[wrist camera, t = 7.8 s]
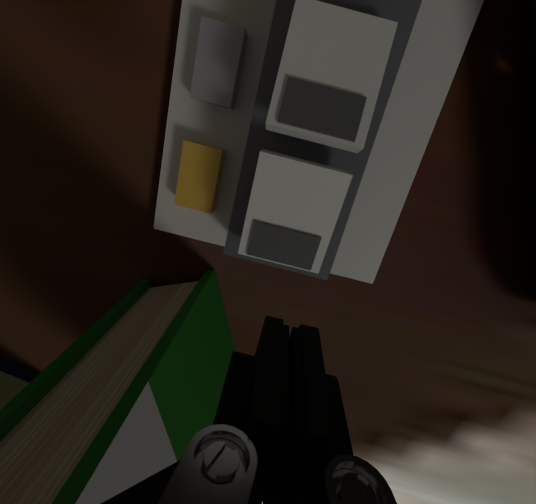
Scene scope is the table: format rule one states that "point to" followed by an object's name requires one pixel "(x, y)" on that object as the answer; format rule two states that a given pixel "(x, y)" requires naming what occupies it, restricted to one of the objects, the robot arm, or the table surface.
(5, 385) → the protein box
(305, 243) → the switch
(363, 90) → the switch middle
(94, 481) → the hardback book
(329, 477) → the robot arm
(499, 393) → the table surface
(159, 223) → the panel
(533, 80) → the muzzle brake
